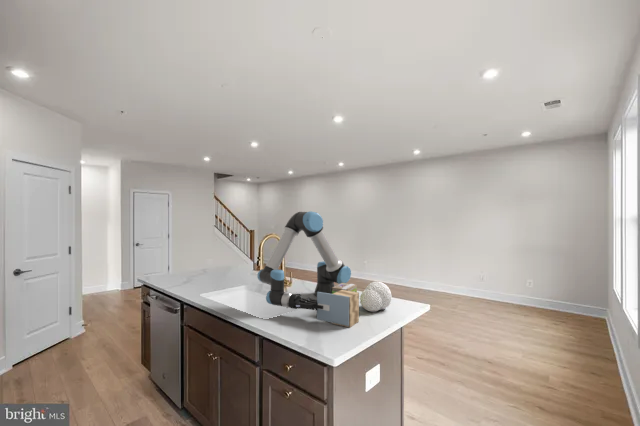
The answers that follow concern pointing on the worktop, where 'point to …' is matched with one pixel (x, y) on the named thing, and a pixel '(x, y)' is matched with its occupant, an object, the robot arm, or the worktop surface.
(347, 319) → the flap
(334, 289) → the tea box
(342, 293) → the carton
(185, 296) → the worktop surface
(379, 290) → the cauliflower
